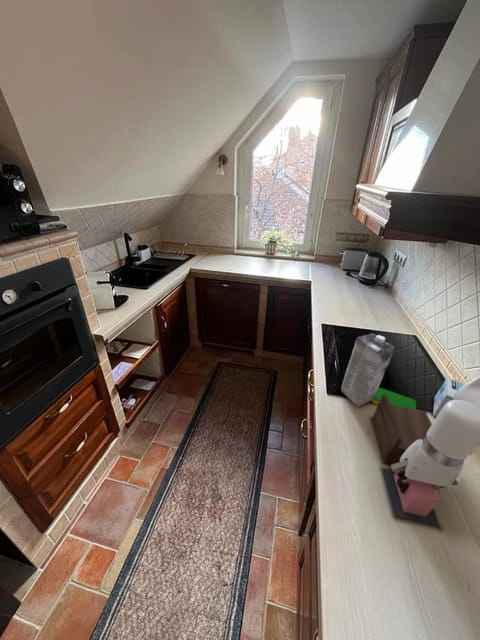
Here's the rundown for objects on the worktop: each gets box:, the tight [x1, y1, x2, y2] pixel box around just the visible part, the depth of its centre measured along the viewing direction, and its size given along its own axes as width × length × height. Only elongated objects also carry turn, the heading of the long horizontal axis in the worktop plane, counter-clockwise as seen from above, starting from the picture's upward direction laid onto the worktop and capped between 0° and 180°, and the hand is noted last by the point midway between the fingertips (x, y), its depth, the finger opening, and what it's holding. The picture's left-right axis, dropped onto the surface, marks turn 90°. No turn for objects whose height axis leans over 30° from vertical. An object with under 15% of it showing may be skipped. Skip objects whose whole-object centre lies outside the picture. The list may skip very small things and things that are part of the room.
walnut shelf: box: [371, 394, 433, 466], centre depth 77 cm, size 14×16×12 cm
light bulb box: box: [432, 377, 466, 418], centre depth 89 cm, size 11×7×11 cm, turn 144°
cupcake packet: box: [394, 473, 440, 517], centre depth 65 cm, size 5×9×8 cm, turn 168°
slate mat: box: [382, 468, 440, 528], centre depth 67 cm, size 10×12×1 cm
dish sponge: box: [370, 386, 417, 409], centre depth 94 cm, size 7×14×2 cm, turn 60°
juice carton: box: [340, 332, 396, 407], centre depth 90 cm, size 9×10×27 cm
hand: (412, 489), depth 66 cm, fingers closed on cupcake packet, 4 cm apart
